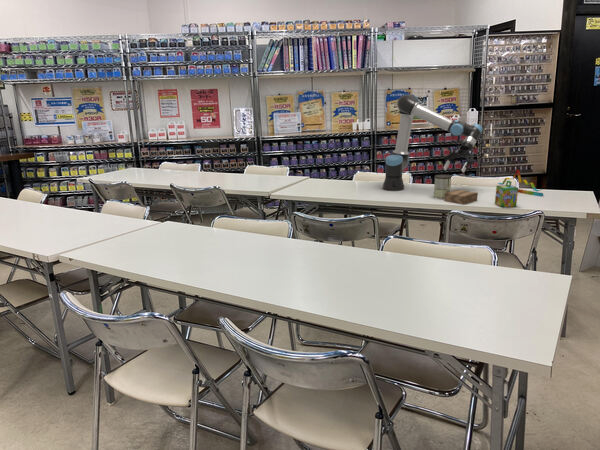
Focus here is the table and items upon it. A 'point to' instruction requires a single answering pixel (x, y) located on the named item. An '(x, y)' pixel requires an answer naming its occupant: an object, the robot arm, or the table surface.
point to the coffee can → (442, 186)
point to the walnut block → (461, 196)
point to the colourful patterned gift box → (506, 195)
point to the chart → (526, 184)
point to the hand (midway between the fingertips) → (453, 170)
